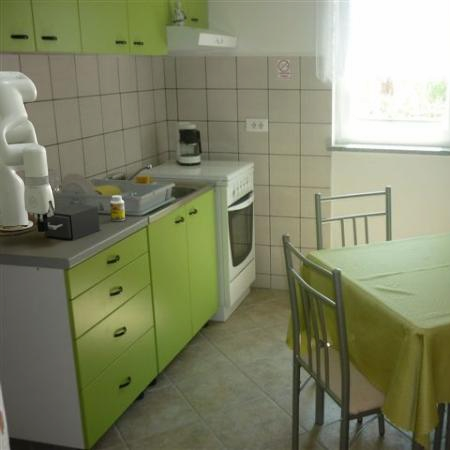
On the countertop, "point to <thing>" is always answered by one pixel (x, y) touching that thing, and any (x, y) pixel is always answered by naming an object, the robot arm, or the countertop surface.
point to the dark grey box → (79, 219)
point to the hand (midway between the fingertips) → (43, 231)
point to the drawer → (59, 226)
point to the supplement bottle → (117, 208)
